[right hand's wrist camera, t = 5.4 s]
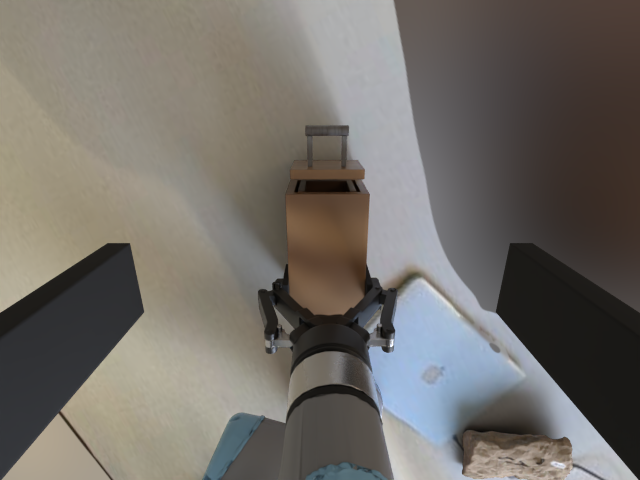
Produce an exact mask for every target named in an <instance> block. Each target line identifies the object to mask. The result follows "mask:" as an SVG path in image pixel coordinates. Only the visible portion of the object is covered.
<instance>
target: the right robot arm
mask: <svg viewBox="0 0 640 480" xmlns="http://www.w3.org/2000/svg"><path fill="white" fill-rule="evenodd" d="M143 313H144V309H143V304H142V299H141V294H140V290H139V285H138V280H137V275H136V270H135V266H134V261H133V256H132V251H131V246H130V243H107V244H106V245H104V246H103V247H101V248H100V249H98V250H97V251H95V252H93V253H92V254H90V255H89V256H87V257H86V258H84V259H83V260H81V261H80V262H78V263H77V264H75V265H73V266H72V267H70V268H69V269H67V270H66V271H64V272H63V273H61V274H60V275H58V276H56V277H55V278H53V279H52V280H50V281H49V282H47V283H46V284H44V285H43V286H41V287H40V288H38V289H36V290H35V291H33V292H32V293H30V294H29V295H27V296H26V297H24V298H23V299H21V300H19V301H18V302H16V303H15V304H13V305H12V306H10V307H9V308H7V309H6V310H4V311H3V312H1V313H0V480H2V478H3V477H4V476H5V475H6V474H7V473H8V471H9V470H10V469H11V468H12V467H13V465H14V464H15V463H16V462H17V461H18V460H19V458H20V457H21V456H22V455H23V454H24V453H25V451H26V450H27V449H28V448H29V447H30V446H31V444H32V443H33V442H34V441H35V440H36V438H37V437H38V436H39V435H40V434H41V433H42V431H43V430H44V429H45V428H46V427H47V426H48V424H49V423H50V422H51V421H52V420H53V419H54V417H55V416H56V415H57V414H58V413H59V411H60V410H61V409H62V408H63V407H64V406H65V404H66V403H67V402H68V401H69V400H70V399H71V397H72V396H73V395H74V394H75V393H76V391H77V390H78V389H79V388H80V387H81V386H82V384H83V383H84V382H85V381H86V380H87V379H88V377H89V376H90V375H91V374H92V373H93V372H94V370H95V369H96V368H97V367H98V366H99V364H100V363H101V362H102V361H103V360H104V359H105V357H106V356H107V355H108V354H109V353H110V352H111V350H112V349H113V348H114V347H115V346H116V345H117V343H118V342H119V341H120V340H121V339H122V337H123V336H124V335H125V334H126V333H127V332H128V330H129V329H130V328H131V327H132V326H133V325H134V323H135V322H136V321H137V320H138V319H139V317H140V316H141V315H142V314H143ZM496 313H497V314H498V315H499V316H500V317H501V319H502V320H503V321H504V322H505V323H506V325H507V326H508V327H509V328H510V329H511V330H512V332H513V333H514V334H515V335H516V336H517V337H518V339H519V340H520V341H521V342H522V343H523V345H524V346H525V347H526V348H527V349H528V350H529V352H530V353H531V354H532V355H533V356H534V357H535V359H536V360H537V361H538V362H539V363H540V364H541V366H542V367H543V368H544V369H545V370H546V372H547V373H548V374H549V375H550V376H551V377H552V379H553V380H554V381H555V382H556V383H557V384H558V386H559V387H560V388H561V389H562V390H563V391H564V393H565V394H566V395H567V396H568V397H569V399H570V400H571V401H572V402H573V403H574V404H575V406H576V407H577V408H578V409H579V410H580V411H581V413H582V414H583V415H584V416H585V417H586V419H587V420H588V421H589V422H590V423H591V424H592V426H593V427H594V428H595V429H596V430H597V431H598V433H599V434H600V435H601V436H602V437H603V438H604V440H605V441H606V442H607V443H608V444H609V446H610V447H611V448H612V449H613V450H614V451H615V453H616V454H617V455H618V456H619V457H620V458H621V460H622V461H623V462H624V463H625V464H626V466H627V467H628V468H629V469H630V470H631V471H632V473H633V474H634V475H635V476H636V477H637V478H638V480H640V313H639V312H637V311H636V310H634V309H633V308H631V307H630V306H628V305H627V304H625V303H624V302H622V301H621V300H619V299H617V298H616V297H614V296H613V295H611V294H610V293H608V292H607V291H605V290H603V289H602V288H600V287H599V286H597V285H596V284H594V283H593V282H591V281H590V280H588V279H587V278H585V277H583V276H582V275H580V274H579V273H577V272H576V271H574V270H573V269H571V268H570V267H568V266H567V265H565V264H563V263H562V262H560V261H559V260H557V259H556V258H554V257H553V256H551V255H550V254H548V253H547V252H545V251H543V250H542V249H540V248H539V247H537V246H536V245H534V244H533V243H510V246H509V251H508V256H507V261H506V266H505V270H504V275H503V280H502V285H501V290H500V294H499V299H498V304H497V309H496Z"/></svg>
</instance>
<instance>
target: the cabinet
mask: <svg viewBox="0 0 640 480" xmlns="http://www.w3.org/2000/svg"><path fill="white" fill-rule="evenodd" d="M301 180H351V181H352V183H353V185H354V187H355V190H356V192H298V191H299V186H300V182H301ZM369 196H370V194H369V192H368V190H367V189H366V187H365V185H364V183H363V182H362V180H361V179H291V181H290V183H289V186H288V189H287V191H286V194H285V199H286V224H287V249H288V274H289V295H290V296H291V297H292V298H293V299H294V300H295V301H296V302H297V303H298V304H299V305H300V306H302V307H303V308H308V309H309V310H310V311H311V312H312V313H313V314H314V315H316V314H322V315H335V314H342V315H344V314H345V313H346V312H347V311H348V310H349V309H350V308H351V307H352V308H354V307H355V306H356V305H357V304H358V303H359V302H360V301H361V300H362V298H363V297H364V296H365V279H366V259H367V238H368V217H369Z"/></svg>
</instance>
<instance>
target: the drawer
mask: <svg viewBox="0 0 640 480" xmlns="http://www.w3.org/2000/svg"><path fill="white" fill-rule="evenodd" d="M348 135H349V126H348V125H329V126H306V136H307V146H308V160H294V162H293V164H292V167H291V169H290V179H364V175H365V169H364V168H363V167H362V165H361V164H360V162H359V161H358V160H346V152H347V136H348ZM312 136H342V153H341V160H313V158H312ZM298 192H356V190H355V187H354V185H353V183H352V181H351V180H301V182H300V186H299V191H298Z"/></svg>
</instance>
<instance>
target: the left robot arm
mask: <svg viewBox="0 0 640 480" xmlns="http://www.w3.org/2000/svg"><path fill="white" fill-rule="evenodd" d="M272 287H273V290H272V291H269V292H268V291H267V290H266V289H261V290H259V291H258V300H259V310H260V313H261V317H262V320H263V323H264V327H265V331H264V334H265V348H266V352H267V353H268V354H273V353H275V352H276V351H277V348H278V347H290V349H291V351H292V352H293V355H292V364H291V376H290V377H291V378H290V383H289V393H288V404H287V415H286V423H282V422H279V421H275V420H271V419H268V418H265V416H256V415H251V414H247V413H237V414H235V415H234V416H232V417H231V419H230V420H229V422H228V424H227V426H226V428H225V430H224V432H223V434H222V437H221V439H220V441H219V443H218V445H217V448H216V450H215V452H214V454H213V456H212V459H211V461H210V463H209V465H208V468H207V470H206V472H205V474H204V477H203V479H202V480H394V477H393V473H392V469H391V464H390V460H389V455H388V451H387V446H386V442H385V437H384V433H383V429H382V425H383V424H382V420H381V415H382V409H383V403H382V398H381V393H380V390H379V388H378V386H377V385H376V383H375V382H374V378H373V375H372V368H371V363H370V358H369V353H368V350H369V347H374V346H381V347H382V350H383V351H384V352H387V353H391V352H393V350H394V338H395V329H394V326H393V320H394V316H395V311H396V303H397V289H395V288H389V289H388V291H386V290H383V289H382V287H381V286H380V283H379V280H378V279H377V278H371V277H370V274H369V270H368V267H367V264H366V279H365V296H364V297H363V298H362V300H361V301H360V302H359V303H358V304H357V305H356V306H355V307H354V308H352V307H351V308H350V309H349V310H348V311H347V312H346V313H345V314H344V315H342V314H335V315H322V314H316V315H314V314H313V313H312V312H311V311H310V310H309V309H308V308H303V307H302V306H300V305H299V304H298V303H297V302H296V301H295V300H294V299H293V298H292V297H291V296H290V295H289V274H288V264H286V268H285V273H284V278H283V279H277V280H276V281H275V282H273V283H272ZM381 304H384V307H383V310H382V314H381V319H380V324H377V328H375V329H374V332H373V333H371V334H369V333H368V331H366V330H365V329H364V328H363V327H364V326H365V324H366V323H367V322H368V321H369V320H370V318H371V317H372V316H373V315H374V313H375V312H376V311H377V310H379V309H380V310H381ZM273 305H274V307H275V308H276V309H277V310H278V311H279V312H280V313H281V314H282V315H283V317H284V318H285V319H286V320H287V321H288V322H289V323H290V324H291V325H292V326H293V327H294V328H295V329H294V330H293V331H292V332H291V333H290V335H289V334H286V333H285V330H284V329H282V325H280V324H279V325H278V319H277V316H276V313H275V310H274V308H273Z"/></svg>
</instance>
